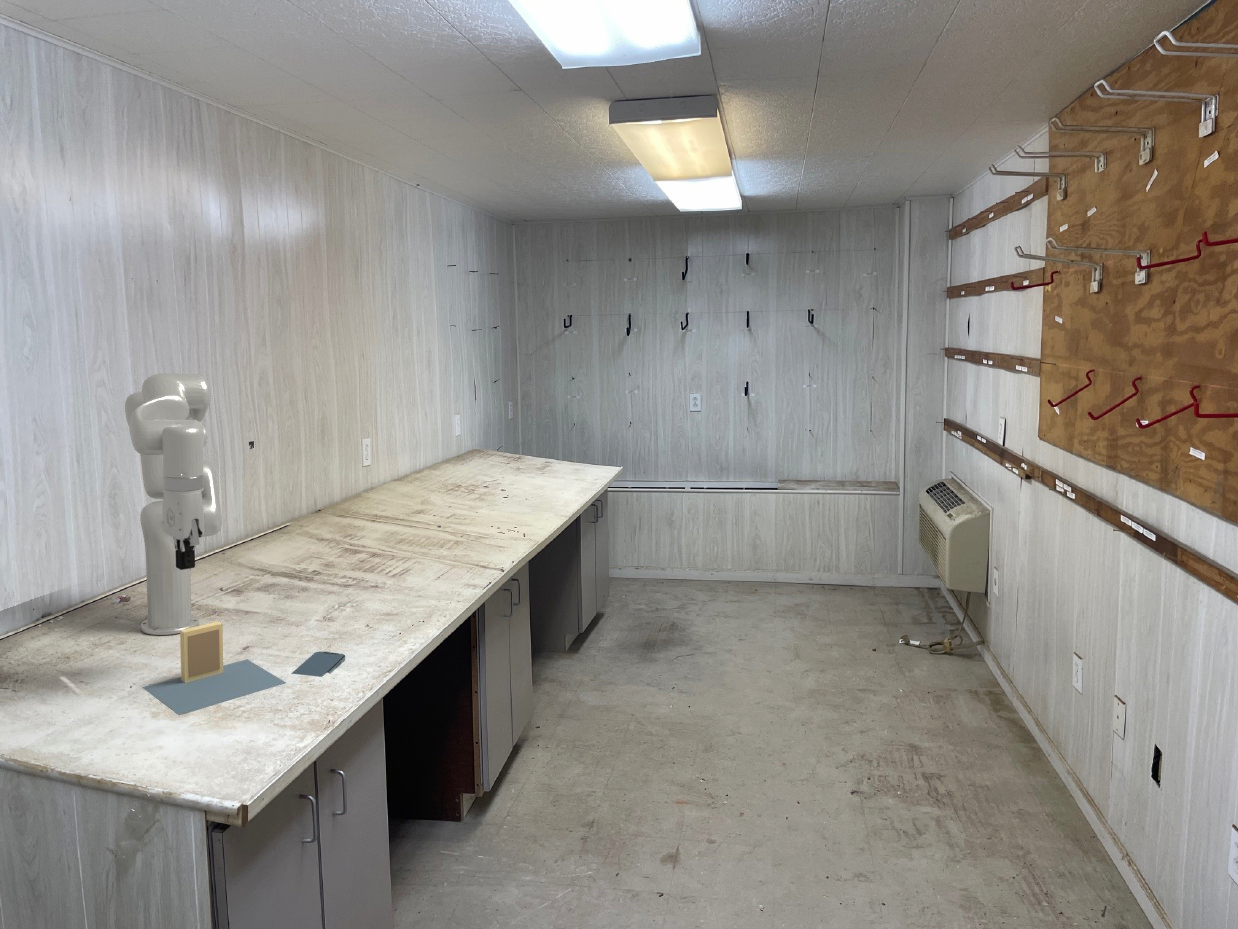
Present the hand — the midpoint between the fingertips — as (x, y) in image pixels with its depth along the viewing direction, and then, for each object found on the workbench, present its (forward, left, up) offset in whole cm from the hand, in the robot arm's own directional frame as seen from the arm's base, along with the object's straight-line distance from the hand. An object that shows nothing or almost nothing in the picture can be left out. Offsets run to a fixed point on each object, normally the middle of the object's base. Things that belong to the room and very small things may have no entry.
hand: (185, 567), depth 181 cm
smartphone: (+18, +20, -24) cm, 36 cm away
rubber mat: (+13, 0, -23) cm, 27 cm away
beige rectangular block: (+7, 0, -22) cm, 23 cm away
